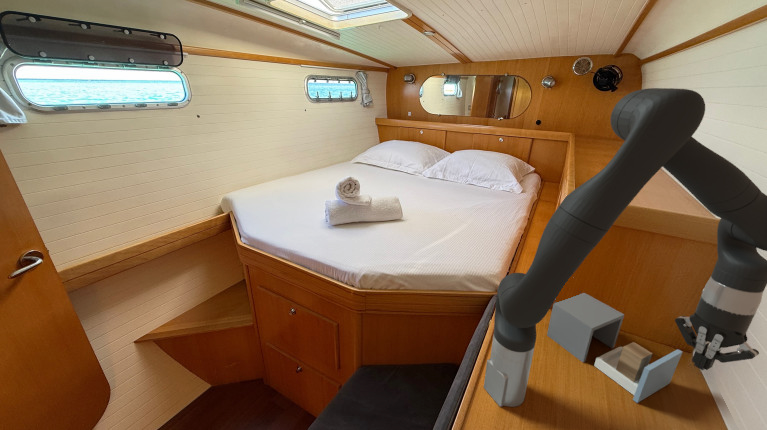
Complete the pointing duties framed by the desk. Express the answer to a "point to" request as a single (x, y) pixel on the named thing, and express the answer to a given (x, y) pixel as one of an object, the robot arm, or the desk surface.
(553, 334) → the cabinet
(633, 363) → the block
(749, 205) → the robot arm
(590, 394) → the desk surface
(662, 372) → the drawer
